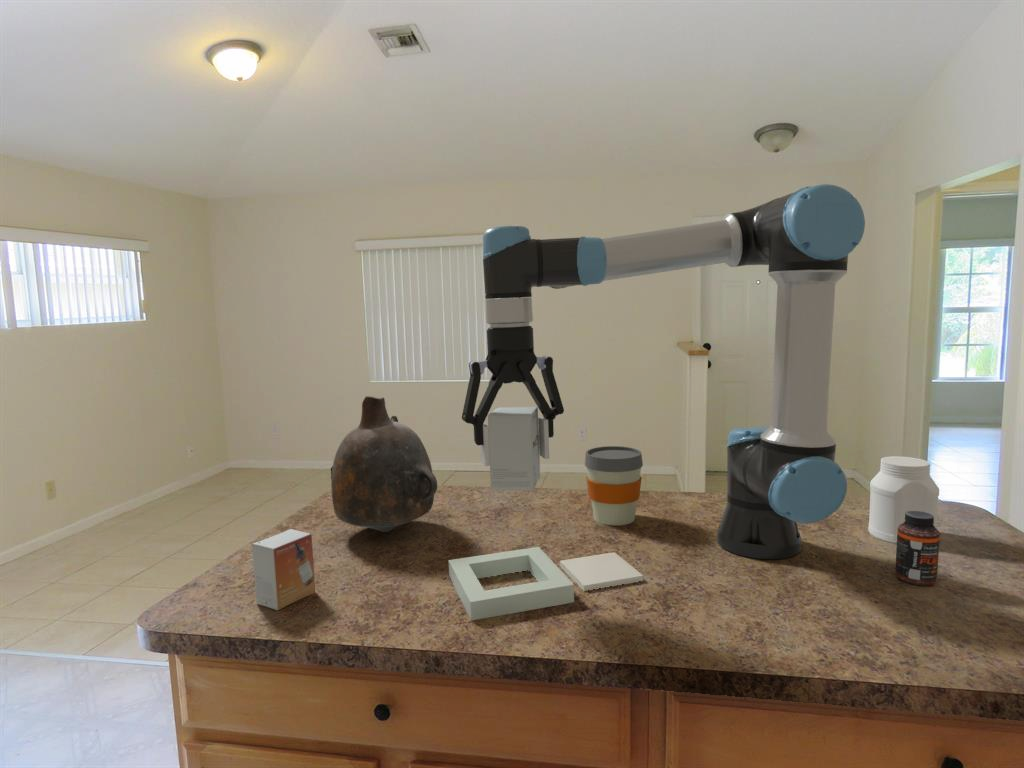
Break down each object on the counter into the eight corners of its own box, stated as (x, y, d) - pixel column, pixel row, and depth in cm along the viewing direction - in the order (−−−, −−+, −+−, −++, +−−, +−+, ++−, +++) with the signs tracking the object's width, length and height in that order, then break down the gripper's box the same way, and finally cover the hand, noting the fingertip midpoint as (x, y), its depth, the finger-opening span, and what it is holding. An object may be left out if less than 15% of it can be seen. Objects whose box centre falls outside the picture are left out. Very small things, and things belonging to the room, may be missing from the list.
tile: (614, 557, 119) (614, 552, 119) (643, 581, 109) (643, 575, 108) (559, 565, 116) (559, 560, 116) (583, 591, 105) (583, 585, 105)
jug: (445, 512, 148) (439, 385, 144) (437, 548, 126) (430, 399, 123) (340, 517, 147) (331, 389, 143) (314, 553, 126) (303, 404, 122)
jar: (922, 527, 129) (926, 455, 127) (945, 545, 120) (949, 468, 118) (861, 525, 131) (864, 454, 129) (879, 542, 122) (882, 467, 120)
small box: (277, 612, 102) (272, 549, 100) (255, 604, 105) (250, 543, 103) (316, 592, 108) (312, 533, 107) (295, 585, 111) (290, 527, 110)
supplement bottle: (923, 590, 102) (927, 522, 101) (887, 576, 107) (890, 512, 106) (944, 581, 105) (948, 515, 103) (908, 569, 110) (911, 506, 109)
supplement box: (534, 491, 101) (531, 413, 100) (489, 490, 103) (485, 414, 101) (541, 478, 108) (538, 405, 107) (499, 478, 110) (496, 406, 108)
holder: (538, 562, 118) (538, 546, 117) (574, 602, 102) (573, 584, 101) (449, 576, 113) (448, 560, 113) (471, 620, 97) (470, 602, 96)
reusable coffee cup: (576, 522, 138) (574, 455, 136) (599, 506, 149) (598, 443, 147) (630, 532, 132) (630, 461, 130) (651, 514, 142) (650, 448, 140)
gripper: (564, 321, 109) (569, 448, 112) (437, 328, 103) (445, 462, 105) (582, 322, 102) (586, 457, 105) (446, 329, 95) (454, 473, 98)
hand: (515, 460), depth 105 cm, fingers closed on supplement box, 10 cm apart
